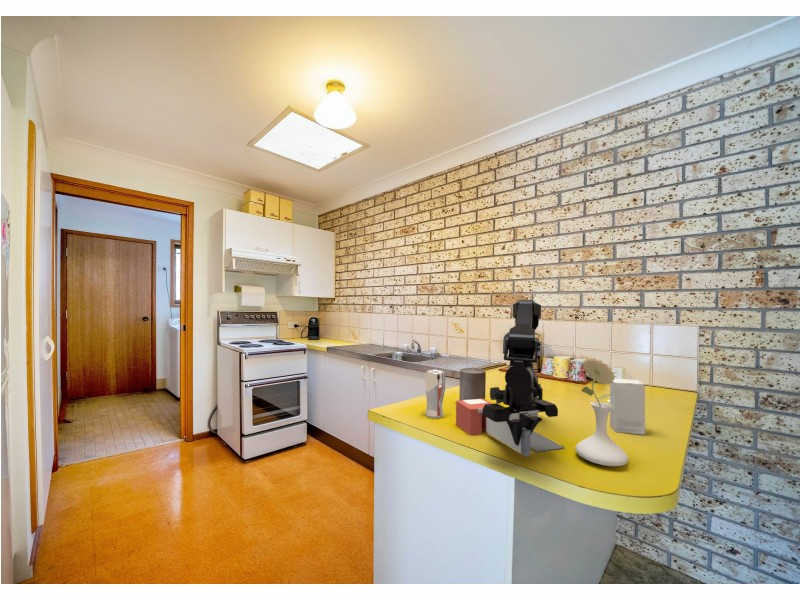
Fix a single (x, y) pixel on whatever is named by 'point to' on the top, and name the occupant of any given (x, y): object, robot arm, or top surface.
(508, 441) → the grey rectangular bar
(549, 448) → the mat
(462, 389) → the pillar candle
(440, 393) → the beer glass
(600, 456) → the flower in vase
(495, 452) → the top surface
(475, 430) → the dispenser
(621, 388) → the skincare box
